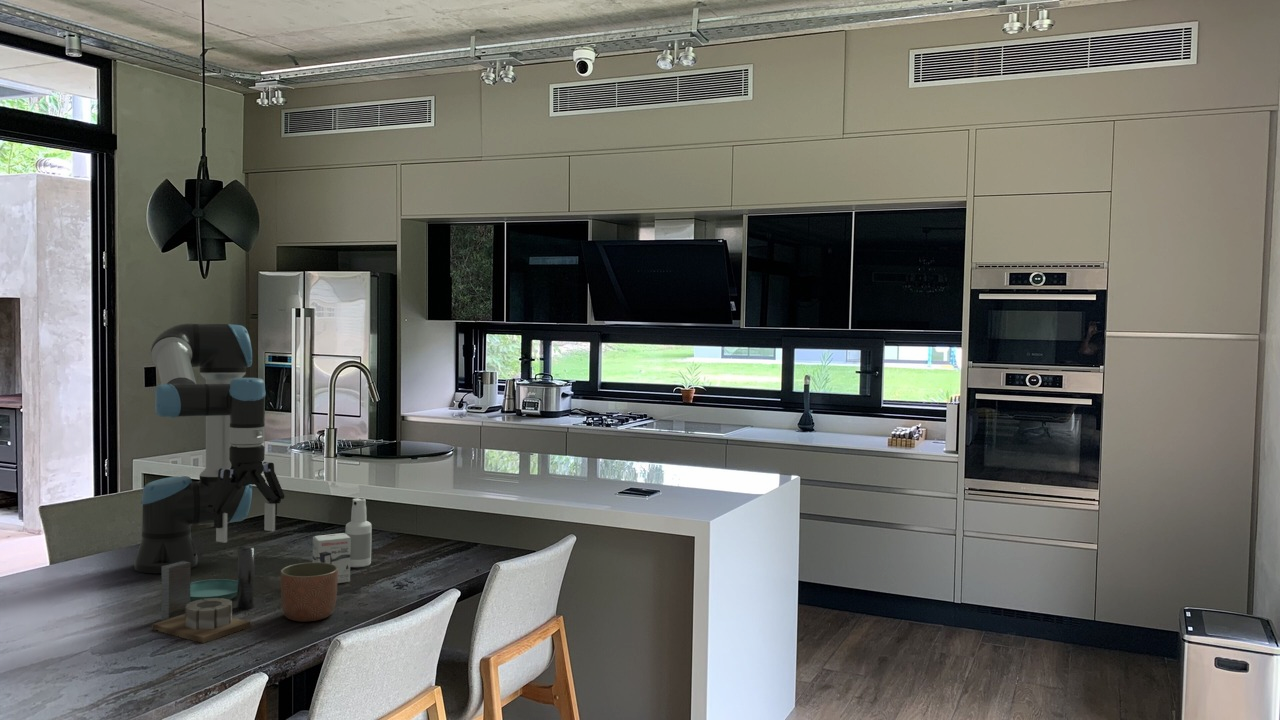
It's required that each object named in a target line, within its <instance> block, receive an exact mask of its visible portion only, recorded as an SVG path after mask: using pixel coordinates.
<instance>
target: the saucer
mask: <svg viewBox="0 0 1280 720" xmlns="http://www.w3.org/2000/svg"><path fill="white" fill-rule="evenodd" d="M236 597H237V580H234V579H226V578H225V579H224V578H223V579H222V578H221V579H218V578H216V579H204V580H197V581H192V582H190V602H193V601H196V600H200V599H202V600H204V599H207V598H219V599H220V598H224V599H228V600H231V601H232V600H233V599H234V598H236Z"/></svg>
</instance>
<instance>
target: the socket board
mask: <svg viewBox="0 0 1280 720" xmlns="http://www.w3.org/2000/svg"><path fill="white" fill-rule="evenodd" d="M151 626H152V627H151V629H152V631H156V630H158V631H157V632H160V633H163V632H164V634H167V633H169V634H168V635H171V634H172V635H171V636H174V635H175V636H176V637H178V636H179V637H178V638H181V639H182V638H183V639H186V640H189V639H191V640H190V641H194V642H197V641H198V642H197V643H201V642H202V644H205V642H206V643H208V642H210V641H214V640H217V639H221V638H222V636H223V637H225V635H226V636H229V635H231V634H235V633H238V632H240V630H241V631H243V630H247V629H249V628H251V621H248V620H245V619H241V618H237V617H233V600H232V599H231V600H228V599H224V598H220V599H219V598H207V599H204V600H202V599H200V600H196V601H193V602H190V603H189V604H187V605H186V608H185V614H184V615H181V616H177V617H174V618H171V619H168V620H161V621H158V622H155V623H152V624H151ZM242 629H243V630H242ZM237 631H238V632H237ZM234 632H235V633H234ZM228 634H229V635H228ZM216 638H217V639H216ZM213 639H214V640H213ZM207 641H208V642H207Z"/></svg>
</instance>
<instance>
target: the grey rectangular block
mask: <svg viewBox="0 0 1280 720" xmlns="http://www.w3.org/2000/svg"><path fill="white" fill-rule="evenodd" d="M191 569H192V568H191V562H186V561H181V562H177V563H173V564H169V565H165V566H162V573H161V591H160V592H161V595H160V596H161V597H160V598H161V599H160V600H161V601H160V602H161V603H160V604H161V608H160V609H161V615H160V617H161V618H160V619H161V621H164V620H168V619H171V618H174V617H177V616H181V615H184V614H185V608H186V605H187V604H189V603H190V583H191V574H192V573H191V572H192V571H191Z"/></svg>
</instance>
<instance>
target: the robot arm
mask: <svg viewBox="0 0 1280 720" xmlns="http://www.w3.org/2000/svg"><path fill="white" fill-rule="evenodd" d="M150 357H151V361H152V363H153V364H154V366H155V367H156V368H157V369H158V375H159V380H160V384H159V385H156V387H155V389H154V390H155V391H154V408H155V414H156V415H157V416H158V417H164V418H165V417H169V418H180V417H182V418H183V417H184V418H185V417H205V467H204V469H203V471H201V472H200V473H199V481H193V480H192V479H191V477H190V476H186V475H183V476H182V475H181V476H180V475H179V476H170V477H164V478H160V479H156V480H153V481H150V482H148V483H146V484H145V485H144V487H143V488H142V496H141V497H142V498H141V502H140V503H141V505H142V506H141V507H142V508H141V509H142V511H141V514H142V515H141V540H140V544H139V546H138V550H137V553H136V557H135V558H134V561H133V563H134V565H133V567H134V571H136V572H139V573H144V574H162V566H165V565H169V564H173V563H177V562H181V561H186V562H191V569H192V568H195V567H196V566H197V565H198V553H197V550H196V548H195V544H194V542H193V539H192V536H191V535H192V534H191V528H192V527H191V526H200V525H201V526H202V525H211V524H213V527H214V528H215V541H216V542H217V543H218V542H219V543H225V544H226V543H228V524H230V523H237V522H242V521H244V520H245V519H246V518H248V515H249V512H250V509H251V503H252V496H253V485H255V486H256V488H257V489H258V491H259V492H260V494H262V496H263V497H264V499H266V501H267V502H264V519H263V521H264V524H263V525H264V531H266V532H267V531H268V532H275V531H276V517H277V515H278V504H280V503H281V501H282V500H284V499H285V493H284V491H283V489H282V487H281V483H280V481H279V479H278V476H277V474H276V471H275V464H274V462H269V461H265V446H264V445H263V444H264V443H265V434H266V433H265V431H266V430H265V429H266V428H265V414H266V413H265V412H266V411H265V408H266V394H267V392H266V384H265V380H264V379H262V378H261V377H258V378H257V377H244V376H245V375H246V374H247V368H249V367H252V364H253V349H252V343H251V338H250V335H249V332H248V330H247V328H246V327H245V326H244V325H240V324H233V323H232V324H230V323H226V324H225V323H181V324H178V325H174V326H171V327H169V328H167V329H165V330H164V331H163V332H161V333H159V335H158V336H157V337H156V338H155V340H154V341H153V342H152V344H151V349H150ZM193 368H199V375H200V376H201V377H202V378H203V379H205V383H197V380H196V378H195V374H194V373H195V372H194V370H193ZM262 473H263V475H262Z"/></svg>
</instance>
